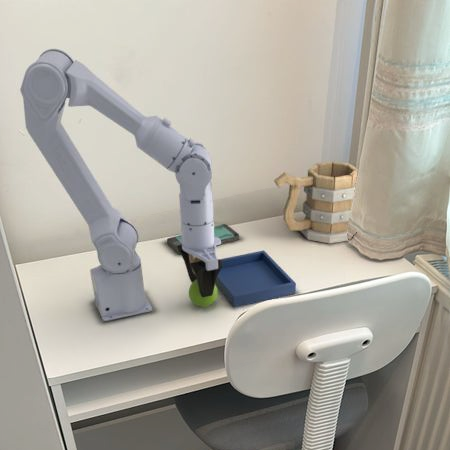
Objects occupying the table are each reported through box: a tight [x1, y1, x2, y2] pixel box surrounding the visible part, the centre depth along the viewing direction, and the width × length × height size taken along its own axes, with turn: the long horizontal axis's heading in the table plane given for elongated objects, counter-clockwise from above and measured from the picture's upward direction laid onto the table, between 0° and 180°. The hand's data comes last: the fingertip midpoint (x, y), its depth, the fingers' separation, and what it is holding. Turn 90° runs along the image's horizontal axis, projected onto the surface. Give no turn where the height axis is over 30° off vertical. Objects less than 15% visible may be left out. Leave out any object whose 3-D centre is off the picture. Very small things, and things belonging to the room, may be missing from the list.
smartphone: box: [166, 223, 240, 256], centre depth 142 cm, size 7×1×15 cm
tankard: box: [274, 160, 359, 245], centre depth 139 cm, size 20×13×15 cm, turn 108°
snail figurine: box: [188, 253, 219, 308], centre depth 118 cm, size 5×6×12 cm
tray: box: [215, 250, 297, 308], centre depth 127 cm, size 15×13×2 cm
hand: (201, 288), depth 120 cm, fingers closed on snail figurine, 5 cm apart
